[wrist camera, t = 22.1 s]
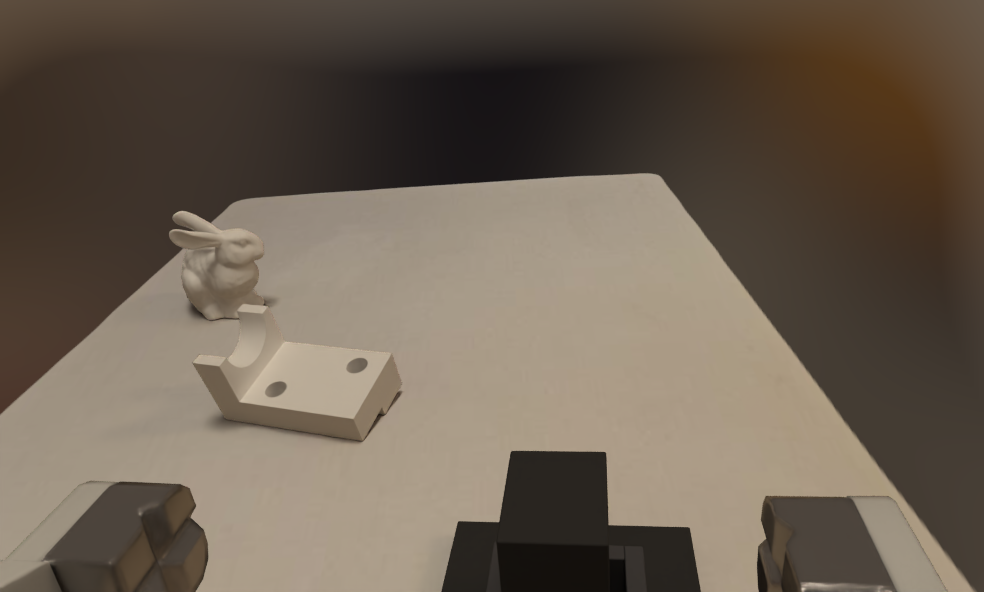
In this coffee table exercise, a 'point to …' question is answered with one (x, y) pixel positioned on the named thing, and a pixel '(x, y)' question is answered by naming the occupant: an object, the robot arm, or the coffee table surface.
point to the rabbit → (218, 266)
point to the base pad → (632, 559)
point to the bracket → (298, 381)
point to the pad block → (554, 523)
